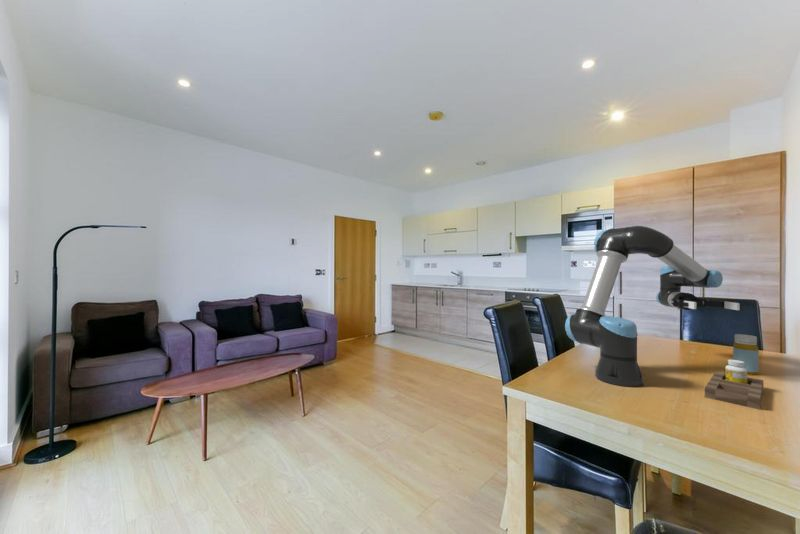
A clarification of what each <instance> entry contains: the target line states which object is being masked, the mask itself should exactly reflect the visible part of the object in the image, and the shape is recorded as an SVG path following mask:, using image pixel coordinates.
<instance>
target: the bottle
mask: <svg viewBox="0 0 800 534" xmlns="http://www.w3.org/2000/svg"><path fill="white" fill-rule="evenodd" d="M759 350H760V349H759V347H758V337H757V336H755V335H750V334H742V333H737V334H736V333H735V334H734V343H733V346H732V357H733V358H732V360H738V361H742V362H744V368H745V369H747V375H750V374H752V375H754V376H757V375H758V374H760V373H759V371H760V369H759V368H760V367H759V366H760V362H759V361H760V358H759V356H760V355H759V354H760V352H759ZM752 375H751V376H752Z"/></svg>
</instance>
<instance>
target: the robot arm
mask: <svg viewBox="0 0 800 534" xmlns="http://www.w3.org/2000/svg"><path fill="white" fill-rule="evenodd" d="M593 246H594V251H595V253H596V256H597V257H598V260H597V262H596V266H595V268H594V271H593V274H592V277H591V280H590V282H589V285H588V288H587V291H586V295H585V297H584V300H583V303H582V305H581V306H580V307H577V308H576V311H575V313H572V314H570V315H569V316H568V317H566V320H565V324H564V329H565V332H566V335H567V337H568V338H569V339H571V340H572V341H573V342H577V343H579V344H582V345H586V346H587V345H588V346H591V347H596V348H599V351H600V352H599V353H600V357H599V359H598V362H597V365H596V367H595V370H594V376H596V377H597V378H596V377H595V378H596V379H598V380H599V379H600V380H599V381H601V380H602V382H604V381H605V383H607V382H608V383H607V384H612V385H616V386H621V387H641V386H643V385H644V376H643V374H642V371H641V368H640V366H639V363H638V336H639V335H638V330H637V329H638V328H637V324H636V323H635V322H634V321H632V320H629V319H626V318H623V317H618V316H611V315H609V316H608V315H606V313H605V312H606V310H607V307H608V304H609V301H610V297H611V294H612V292H613V289H614V286H615V283H616V280H617V277H618V274H619V271H620V268H621V265H622V264H623V263H625V262H627V261H628V257H629V255H635V254H637V255H638V254H642V255H648V256H649V257H651V258H653V259H658V260H660V261H661V263H664V264H665V265H666V266H665V265H664V266H661V267H660V268H659V269H660V271H659V272H660V273H659V278H660V282H659V285H660V287H659V291H658V292H657V293H656V295H655V299H656V302H657V303H659V304H660V305H662V306H664V307H669V308H676V309H677V310H685V311H691V310H697V308H708V307H713V308H724V309H726V310H733V311H734V310H735V311H740V310H741V309H740V304H741V303H739V302H734V301H730V299H726V300H717V299H716V300H715V299H709V298H700V297H697V296H696V295H694V294H692V293H689V292H684V291H681V290H682V287H690V288H706V289H710V288H713V289H715V288H720V286H721V285H722V283H723V279H724V278H723V277H724V276H723V274H722V272H720V271H719V270H713V269H709V270H708V269H706V268H705V267H704V266H702V265H701V264H700V263H699V262H698V261H696V260H695V259H693V258H692V257H691V256H689V255H688V254H687V253H686V252H684V251H683V250H682V249H681V248H679V247H678V246H676V245H675V243H674V240H673V239H672V238H671V237H669V236H668V235H666V234H665V233H663V232H661V231H658V230H657V229H655V228H651V227H648V226H643V225H632V226H627V227H618V228H614V227H613V228H608V229H605V230H601V231H600V232H599V233H597V234H596V236H595V238H594V241H593Z"/></svg>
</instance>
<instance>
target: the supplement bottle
mask: <svg viewBox="0 0 800 534" xmlns="http://www.w3.org/2000/svg"><path fill="white" fill-rule="evenodd" d="M727 364H728V365H725V367H724V368H725V372H724V373H725V377H726V380H728V381H734V382H739V383H744V384H747V377H748V374H747V369H745V368H744V362H742V361H738V360H733V359H728V360H727Z"/></svg>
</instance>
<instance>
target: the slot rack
mask: <svg viewBox="0 0 800 534" xmlns="http://www.w3.org/2000/svg"><path fill="white" fill-rule="evenodd" d="M763 394H764V379H759V378H755V377H754V378H753V377H748V376H747V384H744V383H739V382H734V381H728V380H726V377H725V372H720V371H714V373H713V375H712V376H711V378H710V379H709V381H708V382H707V383H706V386H705V387H704V398H707V399H711V400H712V399H713V400H717V401H720V402H725V403H730V404H734V405H737V406H742V407H748V408H749V409H750V408H752V409H756V410H760V409H761V403H762V400H763V399H762V398H763Z"/></svg>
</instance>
